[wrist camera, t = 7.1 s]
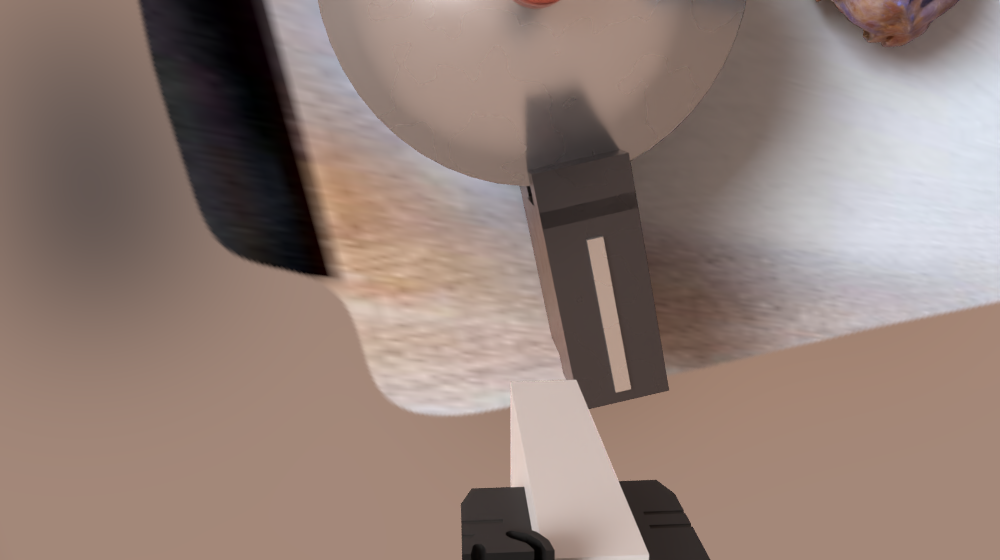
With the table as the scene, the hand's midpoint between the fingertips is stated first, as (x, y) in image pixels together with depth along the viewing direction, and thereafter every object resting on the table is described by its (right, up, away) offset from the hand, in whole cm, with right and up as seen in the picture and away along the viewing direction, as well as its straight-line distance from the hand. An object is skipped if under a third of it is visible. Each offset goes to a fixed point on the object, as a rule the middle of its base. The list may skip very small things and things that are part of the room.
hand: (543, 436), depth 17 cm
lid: (+1, +11, +12) cm, 17 cm away
